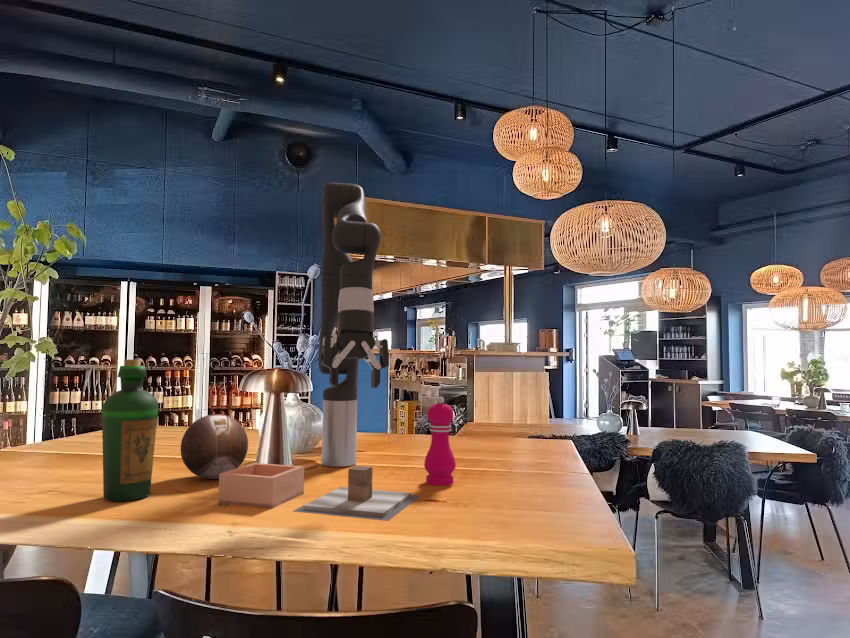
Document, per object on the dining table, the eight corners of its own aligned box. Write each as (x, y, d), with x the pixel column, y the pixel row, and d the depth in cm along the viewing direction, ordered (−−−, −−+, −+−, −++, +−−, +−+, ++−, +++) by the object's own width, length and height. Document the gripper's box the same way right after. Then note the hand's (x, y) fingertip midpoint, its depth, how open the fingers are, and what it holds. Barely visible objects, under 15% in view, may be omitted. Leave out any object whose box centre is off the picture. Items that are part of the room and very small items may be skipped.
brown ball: (198, 488, 125) (200, 419, 126) (168, 478, 136) (170, 414, 137) (259, 478, 137) (261, 414, 137) (227, 469, 147) (229, 410, 148)
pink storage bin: (253, 491, 124) (254, 462, 124) (303, 495, 120) (304, 466, 121) (218, 504, 112) (219, 473, 113) (272, 510, 109) (273, 478, 109)
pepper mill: (452, 488, 128) (453, 398, 129) (421, 486, 130) (422, 397, 131) (457, 481, 135) (458, 395, 137) (427, 479, 137) (428, 395, 138)
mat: (336, 490, 125) (336, 488, 125) (420, 497, 120) (420, 495, 120) (292, 513, 107) (292, 510, 107) (388, 522, 102) (388, 520, 102)
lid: (340, 490, 123) (340, 458, 124) (411, 496, 119) (411, 463, 119) (303, 509, 108) (304, 472, 109) (383, 517, 103) (384, 479, 104)
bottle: (146, 503, 113) (152, 360, 115) (88, 504, 111) (94, 359, 113) (162, 490, 124) (167, 359, 125) (108, 491, 122) (114, 359, 124)
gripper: (381, 316, 129) (380, 389, 126) (318, 312, 123) (316, 388, 120) (393, 310, 123) (393, 387, 120) (327, 305, 117) (326, 385, 114)
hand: (354, 387), depth 120 cm, fingers open, 8 cm apart
